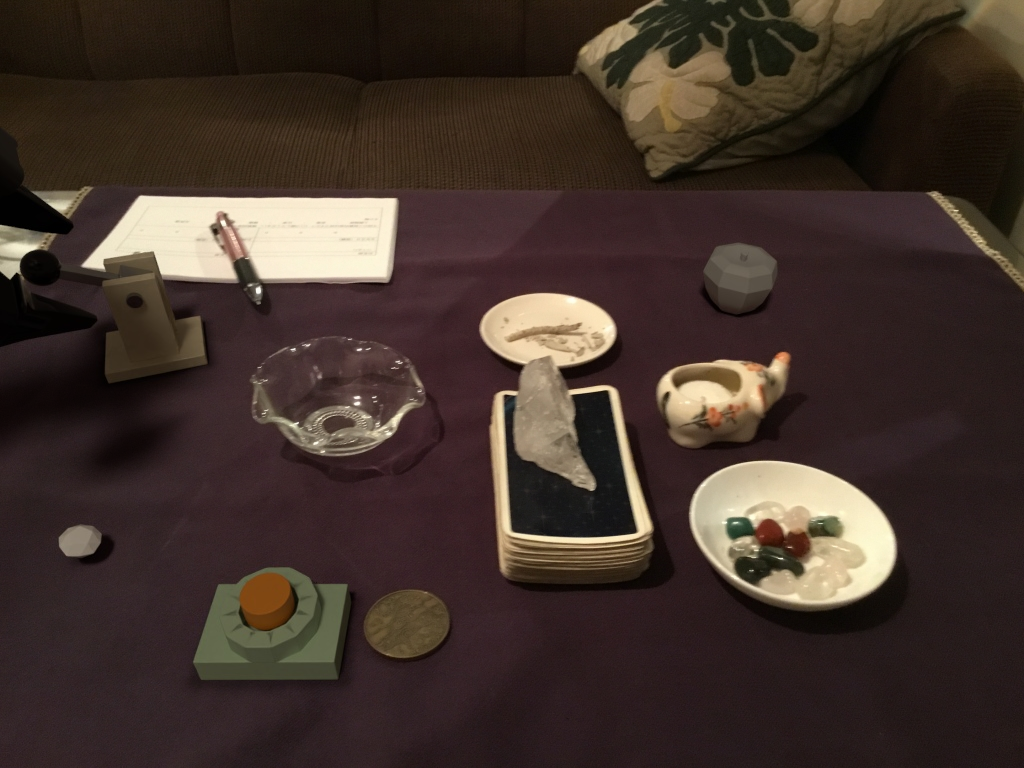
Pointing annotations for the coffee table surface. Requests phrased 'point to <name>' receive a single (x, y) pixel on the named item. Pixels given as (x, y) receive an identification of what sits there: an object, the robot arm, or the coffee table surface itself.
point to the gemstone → (80, 541)
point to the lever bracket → (147, 324)
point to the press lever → (66, 270)
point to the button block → (276, 634)
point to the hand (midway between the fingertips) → (82, 274)
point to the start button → (267, 601)
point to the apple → (739, 277)
